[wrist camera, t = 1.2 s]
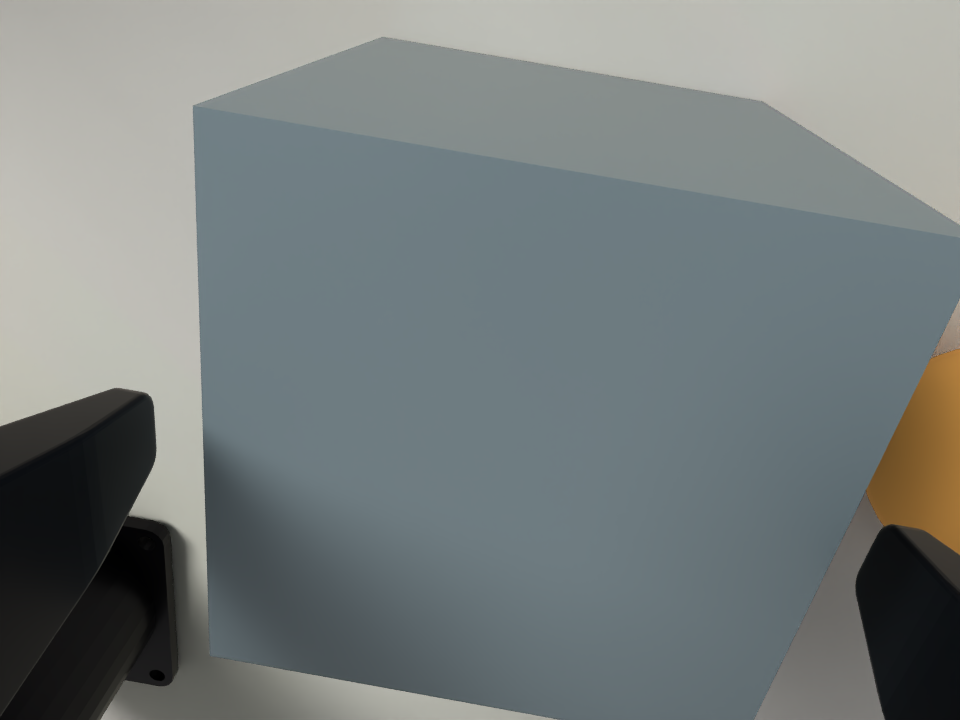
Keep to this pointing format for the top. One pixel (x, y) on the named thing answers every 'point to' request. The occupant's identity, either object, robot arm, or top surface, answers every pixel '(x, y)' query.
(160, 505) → the top surface
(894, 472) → the ball
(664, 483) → the grey square block
